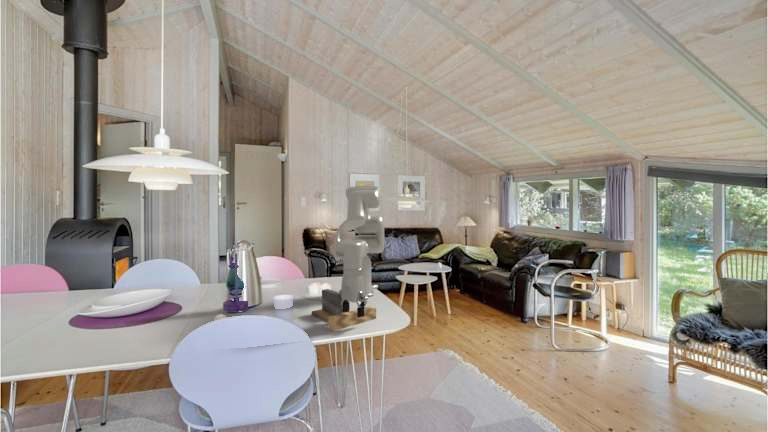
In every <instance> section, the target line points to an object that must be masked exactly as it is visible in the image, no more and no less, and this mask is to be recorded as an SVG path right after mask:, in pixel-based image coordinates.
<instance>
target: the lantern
mask: <svg viewBox="0 0 768 432" xmlns="http://www.w3.org/2000/svg"><path fill="white" fill-rule="evenodd" d="M236 245H237V244H235V245H232V246H230V247H229V248H228V249H229V250H230V257H229V264H230V265H229V264H228V268H229V271H228V273H227V279H226V284H225V286H226V288H227V290H228V292H229V296H228V297H229V298H230V299H234V301H232V300H229V299H227V300H225V301H223V303H222V308H223V311H224V310H225V311H224V312H226V311H227V312H226V313H228V312H239V311H243V312H245V311H244V310H246V311H248V310H249V309H248V301H239V298H243V297H242V293H241V292H242V290H243V288H244V283H243V281H241V279H240V278H239V277H238V275H237V268H238V267H239V266H238V265H237V253H235V263H232V261H233V259H234V258H233V257H232V255H231V254H232V253H231V251H232V249H235V247H236V248H237V246H238V245H237V246H236ZM232 247H233V248H232ZM230 248H231V249H230ZM244 289H245V288H244ZM243 291H244V290H243ZM247 309H248V310H247ZM239 313H240V312H239Z"/></svg>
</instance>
